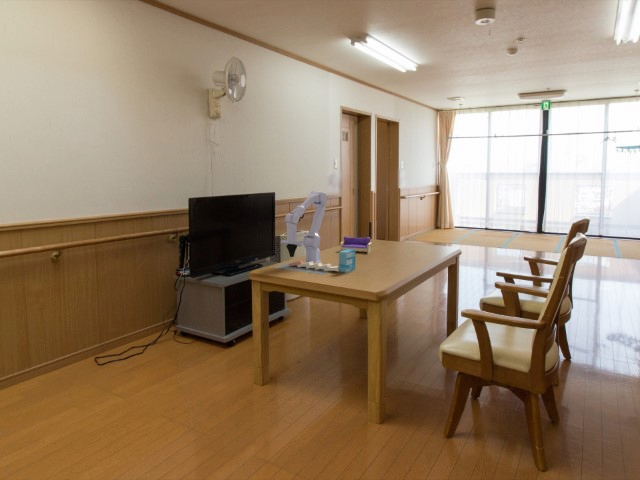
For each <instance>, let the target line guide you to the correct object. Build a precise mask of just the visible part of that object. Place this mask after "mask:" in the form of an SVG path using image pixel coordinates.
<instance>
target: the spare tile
mask: <svg viewBox="0 0 640 480" xmlns="http://www.w3.org/2000/svg"><path fill="white" fill-rule="evenodd" d="M305 261H306V260H298V261H295V262H289V263H290V264H289V266H294V265H299V264H303V263H305Z"/></svg>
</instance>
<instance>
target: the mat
mask: <svg viewBox="0 0 640 480" xmlns="http://www.w3.org/2000/svg"><path fill="white" fill-rule="evenodd" d="M290 263H291V262H286V263H284V264H281V265H277V266H274V267H272V268H273V269H279V270H287V271H293V272H300V273H309V274H315V275H321V276H324V275H326V274H329V273H332V272H334V271H336V270H334V271H324V268H323V269H318V270H315V267H313V268H308V269H306V266H303V267H298V266H297V265H294V266H289V264H290Z"/></svg>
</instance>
